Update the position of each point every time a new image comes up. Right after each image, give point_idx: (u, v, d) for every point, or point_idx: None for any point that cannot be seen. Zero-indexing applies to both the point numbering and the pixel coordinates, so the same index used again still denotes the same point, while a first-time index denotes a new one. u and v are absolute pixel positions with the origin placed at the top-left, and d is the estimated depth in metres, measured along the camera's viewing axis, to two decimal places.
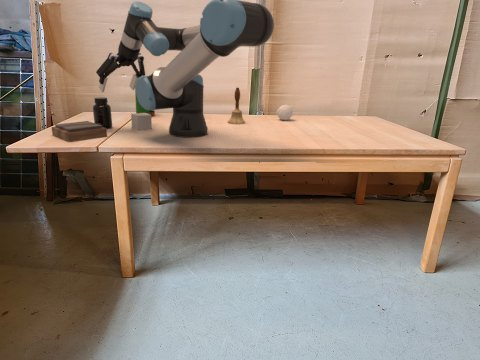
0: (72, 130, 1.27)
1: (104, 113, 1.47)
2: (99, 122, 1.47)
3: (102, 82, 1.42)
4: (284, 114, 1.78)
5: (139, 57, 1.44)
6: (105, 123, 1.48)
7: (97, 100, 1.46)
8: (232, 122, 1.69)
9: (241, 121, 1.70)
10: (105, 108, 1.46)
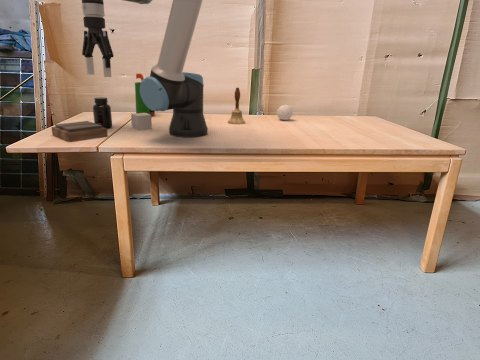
0: (72, 130, 1.27)
1: (104, 113, 1.47)
2: (99, 122, 1.47)
3: None
4: (284, 114, 1.78)
5: None
6: (105, 123, 1.48)
7: (97, 100, 1.46)
8: (232, 122, 1.69)
9: (241, 121, 1.70)
10: (105, 108, 1.46)
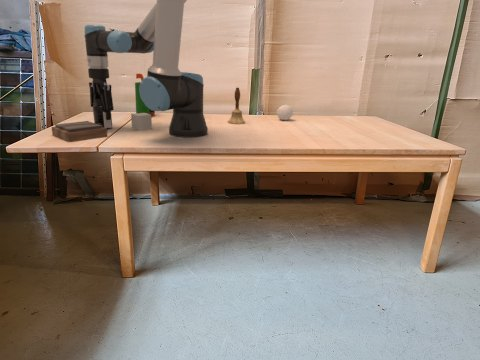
0: (72, 130, 1.27)
1: None
2: (99, 122, 1.47)
3: None
4: (284, 114, 1.78)
5: None
6: None
7: (97, 100, 1.46)
8: (232, 122, 1.69)
9: (241, 121, 1.70)
10: None
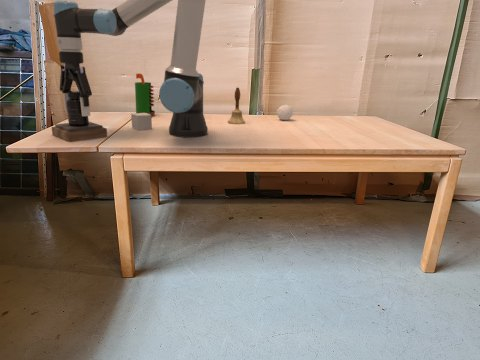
0: (72, 130, 1.27)
1: (79, 108, 1.30)
2: (73, 119, 1.31)
3: None
4: (284, 114, 1.78)
5: None
6: (80, 120, 1.31)
7: (70, 94, 1.29)
8: (232, 122, 1.69)
9: (241, 121, 1.70)
10: (79, 103, 1.30)
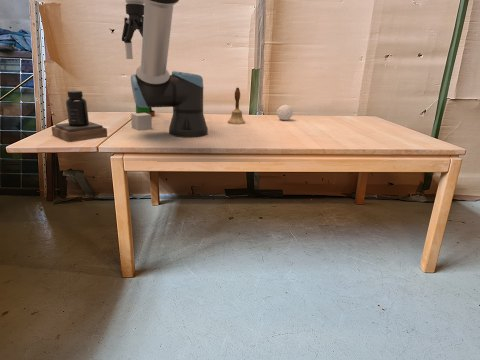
0: (72, 130, 1.27)
1: (79, 108, 1.30)
2: (73, 119, 1.31)
3: None
4: (284, 114, 1.78)
5: None
6: (80, 120, 1.31)
7: (70, 94, 1.29)
8: (232, 122, 1.69)
9: (241, 121, 1.70)
10: (79, 103, 1.30)
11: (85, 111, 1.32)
